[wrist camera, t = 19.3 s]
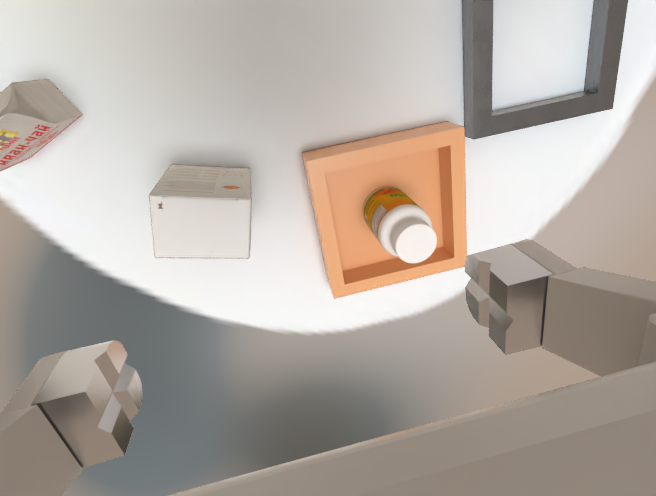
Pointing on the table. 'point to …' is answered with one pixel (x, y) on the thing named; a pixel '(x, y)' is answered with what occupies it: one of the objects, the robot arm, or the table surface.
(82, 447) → the robot arm
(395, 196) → the supplement bottle
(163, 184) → the small box
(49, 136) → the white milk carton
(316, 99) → the table surface
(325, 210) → the tray
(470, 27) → the dark grey square frame
